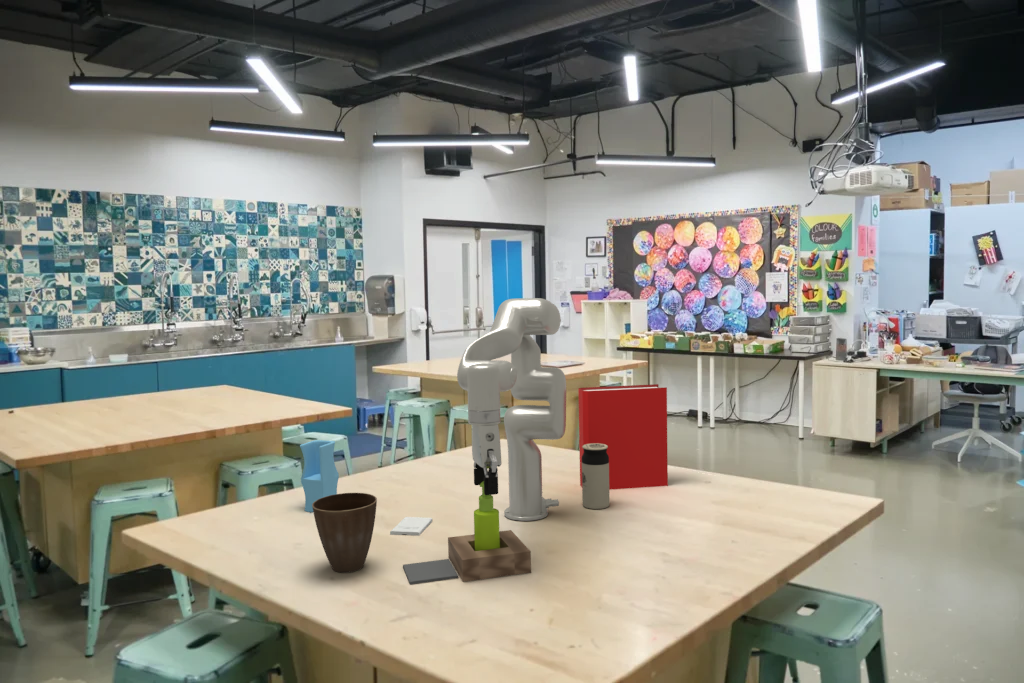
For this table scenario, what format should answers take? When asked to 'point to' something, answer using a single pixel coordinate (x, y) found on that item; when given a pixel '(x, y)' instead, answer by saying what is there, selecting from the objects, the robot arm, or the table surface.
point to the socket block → (489, 557)
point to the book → (627, 432)
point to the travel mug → (595, 476)
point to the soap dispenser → (486, 524)
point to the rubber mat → (429, 571)
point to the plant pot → (345, 528)
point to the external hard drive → (411, 526)
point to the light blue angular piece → (318, 471)
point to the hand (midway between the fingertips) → (485, 489)
